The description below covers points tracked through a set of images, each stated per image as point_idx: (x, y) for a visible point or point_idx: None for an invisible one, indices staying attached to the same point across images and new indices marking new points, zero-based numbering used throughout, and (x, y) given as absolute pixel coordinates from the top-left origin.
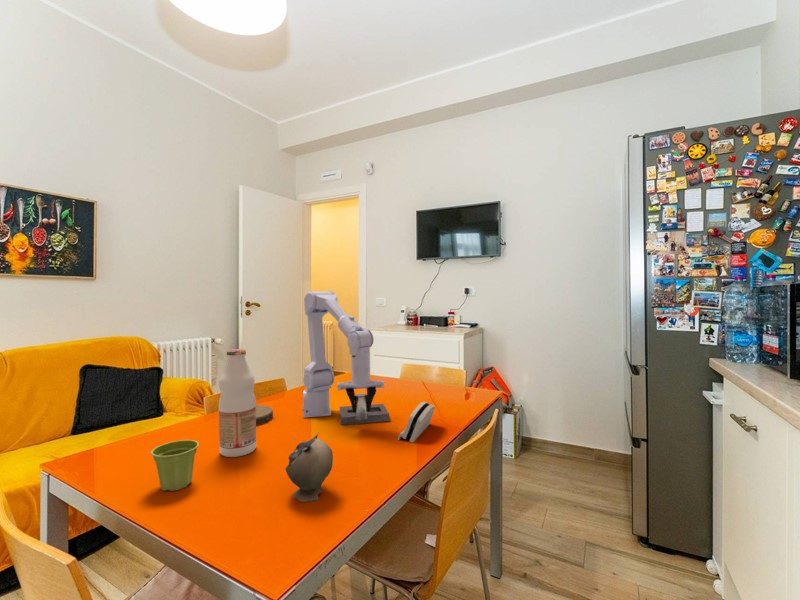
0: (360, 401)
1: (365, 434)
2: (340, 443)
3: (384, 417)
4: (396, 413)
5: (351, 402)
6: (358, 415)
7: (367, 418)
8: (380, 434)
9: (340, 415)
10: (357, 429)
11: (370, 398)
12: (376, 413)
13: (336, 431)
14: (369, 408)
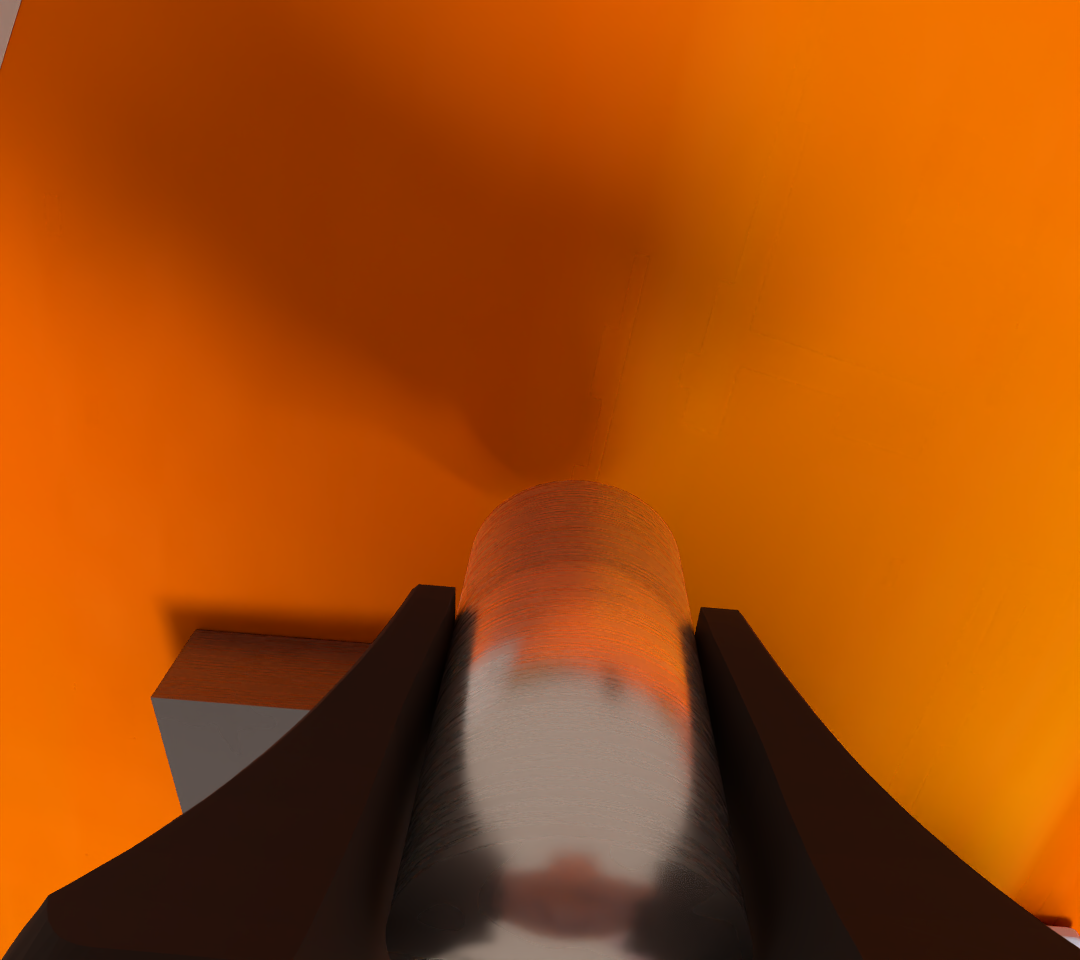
0: (616, 739)
1: (551, 299)
2: (1026, 30)
3: (233, 671)
4: (114, 796)
5: (850, 765)
6: (644, 537)
7: None
8: (334, 231)
9: None
10: None
11: (316, 778)
12: None
13: (896, 516)
14: (407, 617)
